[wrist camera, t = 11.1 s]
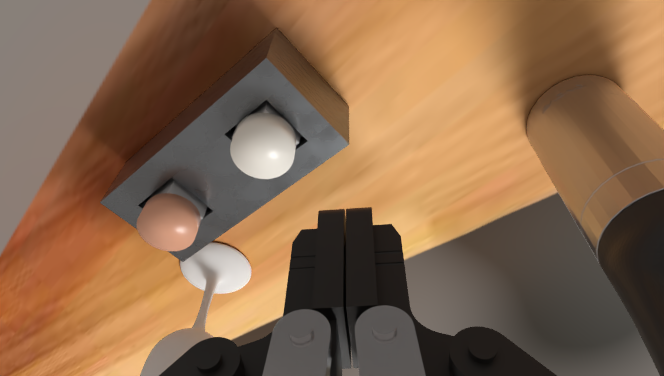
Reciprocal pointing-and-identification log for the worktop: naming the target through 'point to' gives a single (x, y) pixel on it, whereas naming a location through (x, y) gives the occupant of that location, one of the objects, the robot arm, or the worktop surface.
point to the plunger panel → (216, 136)
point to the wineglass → (213, 277)
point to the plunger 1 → (171, 217)
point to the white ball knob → (264, 143)
